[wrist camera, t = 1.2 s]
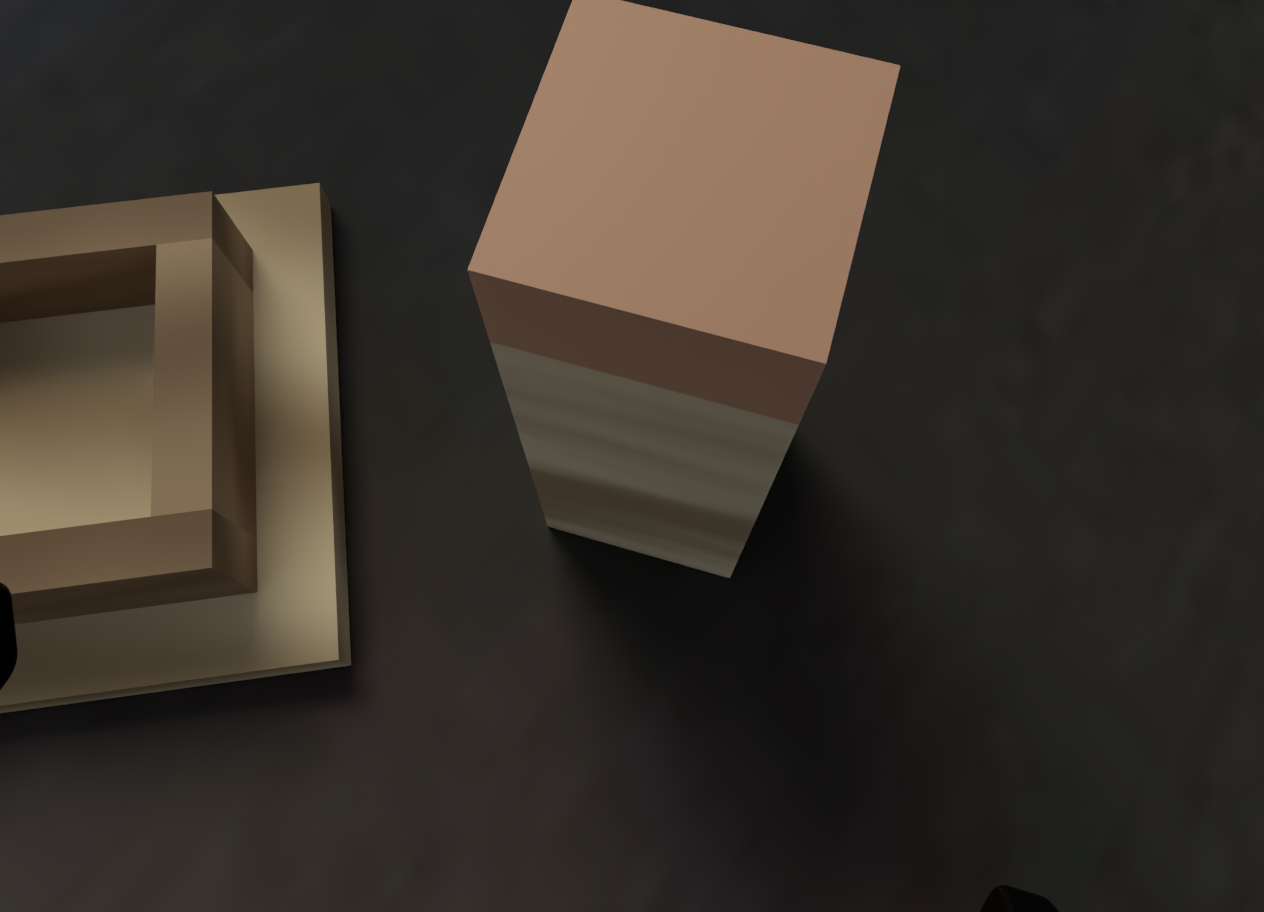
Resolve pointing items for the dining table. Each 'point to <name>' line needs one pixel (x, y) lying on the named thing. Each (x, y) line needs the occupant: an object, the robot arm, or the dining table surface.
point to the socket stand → (170, 445)
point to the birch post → (674, 268)
